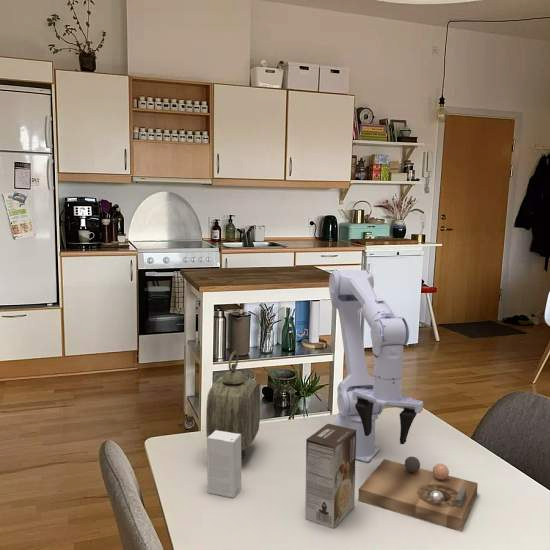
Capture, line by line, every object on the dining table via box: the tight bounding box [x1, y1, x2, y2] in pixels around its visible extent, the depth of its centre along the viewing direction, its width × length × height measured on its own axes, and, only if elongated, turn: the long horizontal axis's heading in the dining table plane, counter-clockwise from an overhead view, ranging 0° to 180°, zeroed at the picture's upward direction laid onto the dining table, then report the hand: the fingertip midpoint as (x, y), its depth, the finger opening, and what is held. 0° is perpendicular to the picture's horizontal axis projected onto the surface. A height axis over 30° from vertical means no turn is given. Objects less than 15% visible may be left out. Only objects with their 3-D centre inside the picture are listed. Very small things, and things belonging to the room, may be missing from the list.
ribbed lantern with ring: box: [205, 350, 261, 458], centre depth 129 cm, size 14×9×25 cm, turn 168°
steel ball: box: [428, 490, 445, 502], centre depth 111 cm, size 3×3×3 cm
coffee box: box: [304, 423, 357, 529], centre depth 107 cm, size 9×6×16 cm
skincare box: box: [206, 430, 242, 498], centre depth 115 cm, size 6×4×12 cm
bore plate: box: [357, 458, 479, 532], centre depth 114 cm, size 20×15×4 cm
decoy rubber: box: [404, 456, 421, 472], centre depth 119 cm, size 3×3×3 cm
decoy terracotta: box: [432, 463, 450, 480], centre depth 116 cm, size 3×3×3 cm
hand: (385, 438), depth 117 cm, fingers open, 7 cm apart
